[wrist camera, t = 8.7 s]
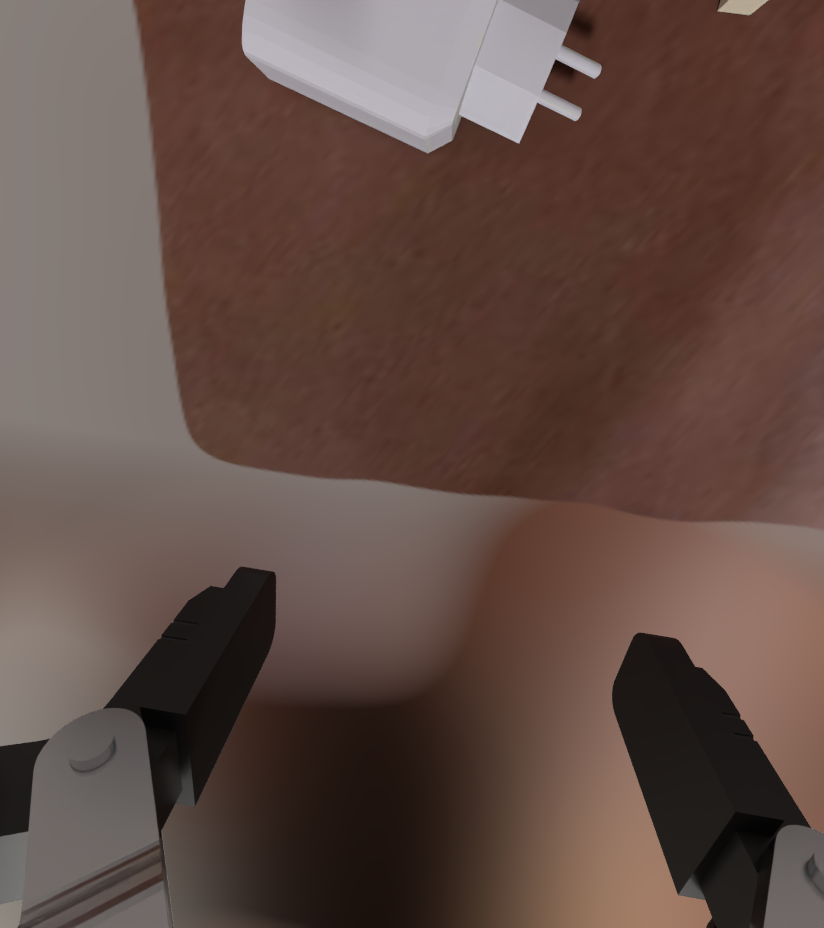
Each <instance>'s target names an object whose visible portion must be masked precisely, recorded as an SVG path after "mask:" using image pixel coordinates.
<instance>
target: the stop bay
mask: <svg viewBox="0 0 824 928" xmlns="http://www.w3.org/2000/svg"><path fill="white" fill-rule="evenodd" d="M767 1H768V0H720V4H719V7H718V10H717V11H720V12H728V13H736V14H743V15H751V14H752V13H753V12H754V11H756V10H757V9H758V8H759V7H760V6H762V5H763V4H764V3H765V2H767Z"/></svg>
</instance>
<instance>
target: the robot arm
mask: <svg viewBox="0 0 824 928" xmlns="http://www.w3.org/2000/svg"><path fill="white" fill-rule="evenodd" d="M275 625H276V575H275V573H274V572H272V571H265V570H259V569H252V568H247V567H240V568H239V569H237V570H236V572H235V573H234V575H233V576H232V577H231V579H230V581H229V582H228V583H227V585H226V586H225V587H224V588H219V587H213V586H210V587H209V588H207V589H206V590H204V591H202V592H201V593H200V594H198V595H197V596H195V597H193V598H192V599H190V600H189V601H188V602H187V603H186V605H185V606H184V607H183V609H182V610H181V612H180V613H179V614H178V615H177V616H176V618H175V619H174V622H173V623H171V624H170V625H169V626H168V628H167V629H166V630H165V631H164V633H163V634H162V637H161V639H158V640H157V642H156V643H155V644H154V646H153V647H152V648H151V650H150V651H149V652H148V653H147V654H146V656H145V657H144V658H143V659H142V661H141V662H140V663H139V665H138V666H137V667H136V669H135V670H134V671H133V672H132V674H131V675H130V676H129V678H128V679H127V680H126V681H125V682H124V684H123V685H122V686H121V687H120V689H119V690H118V691H117V693H116V694H115V695H114V697H113V698H112V699H111V700H110V702H109V703H108V704H107V705H106V706H105V707H104V708H103V709H100V710H97V711H93V712H91V713H88V714H85V715H83V716H81V717H79V718H77V719H75V720H73V721H72V722H70V723H68V724H67V725H65V726H64V727H63V728H61V729H60V730H59V731H58V732H57V733H56V734H54V735H53V736H52V738H50V739H47V740H42V741H37V742H30V743H22V744H15V745H7V746H1V747H0V904H4V903H8V902H13V901H17V900H21V899H23V902H22V912H21V918H20V923H19V926H18V928H174V925H173V917H172V909H171V901H170V894H169V886H168V878H167V871H166V863H165V855H164V847H163V839H162V832H161V830H162V829H163V827H164V825H165V823H166V821H167V819H168V817H169V815H170V813H171V811H172V809H173V807H174V805H175V803H177V804H183V805H188V806H196V804H197V802H198V800H199V797H200V795H201V793H202V791H203V789H204V787H205V785H206V783H207V781H208V778H209V777H210V774H211V772H212V770H213V768H214V766H215V764H216V762H217V760H218V758H219V755H220V754H221V751H222V749H223V747H224V745H225V743H226V741H227V739H228V737H229V735H230V733H231V731H232V728H233V726H234V724H235V722H236V720H237V718H238V716H239V714H240V711H241V709H242V708H243V705H244V703H245V701H246V699H247V697H248V695H249V693H250V691H251V689H252V687H253V684H254V682H255V680H256V678H257V676H258V674H259V672H260V670H261V668H262V666H263V663H264V662H265V659H266V657H267V655H268V653H269V650H270V647H271V645H272V641H273V638H274V631H275ZM612 691H613V692H612V702H613V709H614V713H615V715H616V718H617V721H618V724H619V727H620V730H621V733H622V736H623V739H624V742H625V744H626V747H627V750H628V753H629V756H630V759H631V762H632V765H633V767H634V770H635V773H636V776H637V778H638V782H639V785H640V787H641V790H642V793H643V796H644V799H645V802H646V805H647V807H648V810H649V813H650V816H651V819H652V822H653V825H654V827H655V830H656V833H657V836H658V839H659V842H660V845H661V847H662V850H663V853H664V856H665V859H666V862H667V864H668V867H669V870H670V873H671V876H672V879H673V882H674V885H675V888H676V890H677V893H678V895H681V896H686V897H692V898H698V899H703V900H706V902H707V905H708V908H709V910H710V913H711V915H712V918H711V920H710V921H709V922H708V924H707V926H706V928H824V834H822V833H820V832H818V831H817V830H814V829H811V827H810V826H809V824H808V822H807V821H806V819H805V818H804V816H803V814H802V813H801V811H800V810H799V808H798V806H797V805H796V803H795V802H794V800H793V798H792V797H791V795H790V794H789V792H788V790H787V789H786V787H785V786H784V784H783V782H782V781H781V779H780V778H779V776H778V774H777V773H776V771H775V770H774V768H773V766H772V765H771V763H770V762H769V760H768V758H767V757H766V755H765V754H764V752H763V750H762V749H761V747H760V746H759V744H758V742H757V741H754V740H753V734H752V733H751V731H750V730H749V728H748V726H747V725H746V723H745V722H744V720H741V719H740V714H739V712H738V710H737V709H736V707H735V705H734V704H733V702H732V701H731V699H730V698H729V696H728V694H727V693H726V691H725V690H724V689H723V688H722V687H721V686H720V685H719V684H718V683H717V682H716V681H715V680H714V679H713V678H712V677H711V676H710V675H708V673H707V672H706V671H705V670H704V669H703V668H698V667H695V666H694V664H693V663H692V661H691V659H690V658H689V656H688V654H687V653H686V651H685V649H684V647H683V646H682V644H681V643H680V642H679V641H678V640H677V639H675V638H670V637H664V636H658V635H652V634H645V633H637V634H636V635H635V636H634V637H633V639H632V641H631V644H630V646H629V648H628V651H627V653H626V655H625V658H624V660H623V662H622V665H621V667H620V669H619V672H618V674H617V676H616V679H615V681H614V685H613V690H612Z"/></svg>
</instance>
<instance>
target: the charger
mask: <svg viewBox="0 0 824 928" xmlns="http://www.w3.org/2000/svg"><path fill="white" fill-rule="evenodd" d="M579 1H580V0H246V2H245V8H244V16H243V26H242V45H243V51H244V54H245V55H246V56H247V57H248V58H249V59H250V60H251V61H252V62H253V63H254V64H255V65H256V66H257V67H258V68H259V69H260V70H261V71H262V72H263V73H264V74H265V75H266V76H267V77H268V78H269V79H271V80H273V81H275V82H277V83H279V84H281V85H283V86H286V87H288V88H290V89H292V90H294V91H296V92H298V93H300V94H303V95H305V96H307V97H309V98H311V99H313V100H315V101H317V102H320V103H322V104H324V105H326V106H328V107H330V108H332V109H334V110H337V111H339V112H341V113H343V114H345V115H347V116H349V117H351V118H354V119H356V120H358V121H360V122H362V123H364V124H366V125H369V126H371V127H373V128H375V129H377V130H379V131H381V132H383V133H386V134H388V135H390V136H392V137H394V138H396V139H398V140H400V141H403V142H405V143H407V144H409V145H411V146H413V147H415V148H417V149H420V150H422V151H424V152H426V153H429V152H431V151H433V150H435V149H437V148H439V147H441V146H443V145H445V144H446V143H448V142H450V141H452V140H453V138H454V135H455V133H456V130H457V127H458V125H459V122H460V119H461V117H462V116H463V117H465V118H467V119H469V120H471V121H473V122H475V123H477V124H479V125H481V126H483V127H486V128H488V129H490V130H492V131H494V132H496V133H498V134H500V135H502V136H504V137H506V138H508V139H511V140H513V141H515V142H517V143H519V142H520V140H521V138H522V136H523V134H524V131H525V129H526V127H527V124H528V122H529V120H530V118H531V115H532V113H533V111H534V108H535V106H536V104H537V103H539V104H541V105H543V106H545V107H548V108H550V109H552V110H554V111H556V112H558V113H560V114H562V115H564V116H566V117H568V118H570V119H572V120H574V121H576V120H578V119H579V117H580V115H581V112H582V110H581V108H580V107H578V106H576V105H574V104H572V103H570V102H568V101H566V100H564V99H562V98H560V97H558V96H556V95H554V94H552V93H550V92H548V91H546V90H544V89H543V88H544V85H545V83H546V80H547V78H548V76H549V73H550V71H551V69H552V66H553V64H554V61H555V59H556V60H558V61H560V62H562V63H564V64H566V65H568V66H570V67H572V68H574V69H576V70H578V71H580V72H582V73H584V74H586V75H588V76H590V77H592V78H594V79H595V78H597V77H598V76H599V74H600V72H601V68H602V67H601V64H599V63H597V62H595V61H593V60H591V59H589V58H587V57H585V56H583V55H581V54H579V53H577V52H575V51H573V50H571V49H569V48H567V47H565V46H563V45H562V43H563V40H564V38H565V35H566V33H567V31H568V28H569V26H570V23H571V21H572V18H573V16H574V13H575V11H576V8H577V6H578V3H579Z"/></svg>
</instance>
